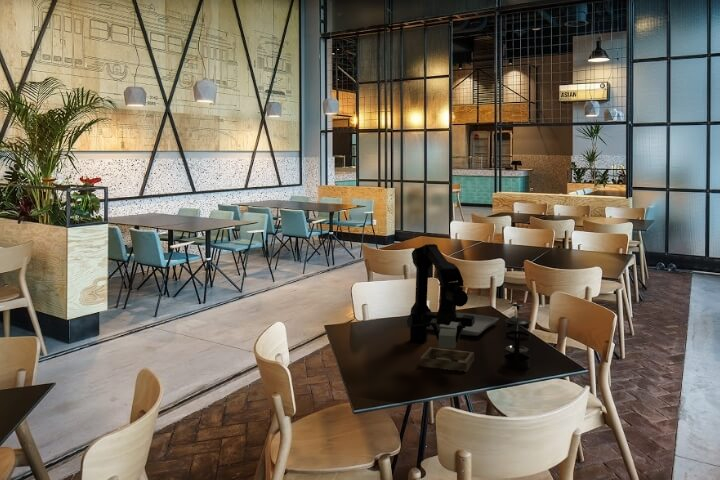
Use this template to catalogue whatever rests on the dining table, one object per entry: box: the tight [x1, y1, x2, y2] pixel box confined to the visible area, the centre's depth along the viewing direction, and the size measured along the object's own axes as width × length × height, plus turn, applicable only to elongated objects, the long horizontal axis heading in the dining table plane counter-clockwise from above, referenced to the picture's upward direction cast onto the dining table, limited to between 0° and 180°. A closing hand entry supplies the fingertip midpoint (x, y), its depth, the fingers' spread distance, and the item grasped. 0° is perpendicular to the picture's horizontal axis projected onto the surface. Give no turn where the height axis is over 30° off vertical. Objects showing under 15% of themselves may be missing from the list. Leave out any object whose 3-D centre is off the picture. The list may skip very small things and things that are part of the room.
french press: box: [502, 303, 532, 371], centre depth 215 cm, size 12×9×23 cm
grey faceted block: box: [438, 329, 457, 349], centre depth 218 cm, size 6×9×4 cm, turn 168°
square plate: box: [427, 311, 500, 337], centre depth 266 cm, size 27×27×4 cm
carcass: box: [419, 347, 475, 373], centre depth 219 cm, size 17×13×4 cm
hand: (447, 341), depth 218 cm, fingers closed on grey faceted block, 6 cm apart
